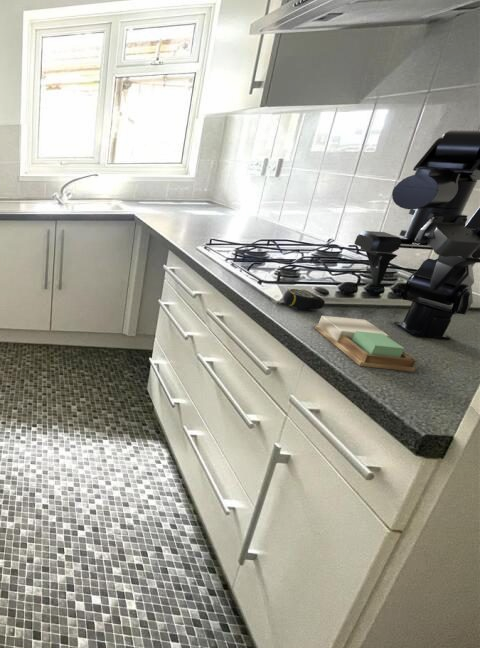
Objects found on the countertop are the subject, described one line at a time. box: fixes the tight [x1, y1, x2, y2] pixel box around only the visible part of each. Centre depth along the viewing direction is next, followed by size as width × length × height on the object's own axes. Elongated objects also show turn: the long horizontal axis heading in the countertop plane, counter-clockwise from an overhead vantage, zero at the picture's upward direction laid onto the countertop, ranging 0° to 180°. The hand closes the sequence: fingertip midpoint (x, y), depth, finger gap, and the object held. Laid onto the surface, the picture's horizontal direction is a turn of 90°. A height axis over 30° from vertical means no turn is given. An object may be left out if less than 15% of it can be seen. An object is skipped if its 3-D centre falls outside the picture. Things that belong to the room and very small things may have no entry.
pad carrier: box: [315, 315, 417, 373], centre depth 82 cm, size 16×8×3 cm, turn 166°
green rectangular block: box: [352, 331, 405, 357], centre depth 79 cm, size 6×4×3 cm
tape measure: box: [282, 288, 326, 311], centre depth 101 cm, size 7×7×4 cm
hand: (403, 287), depth 81 cm, fingers open, 9 cm apart
